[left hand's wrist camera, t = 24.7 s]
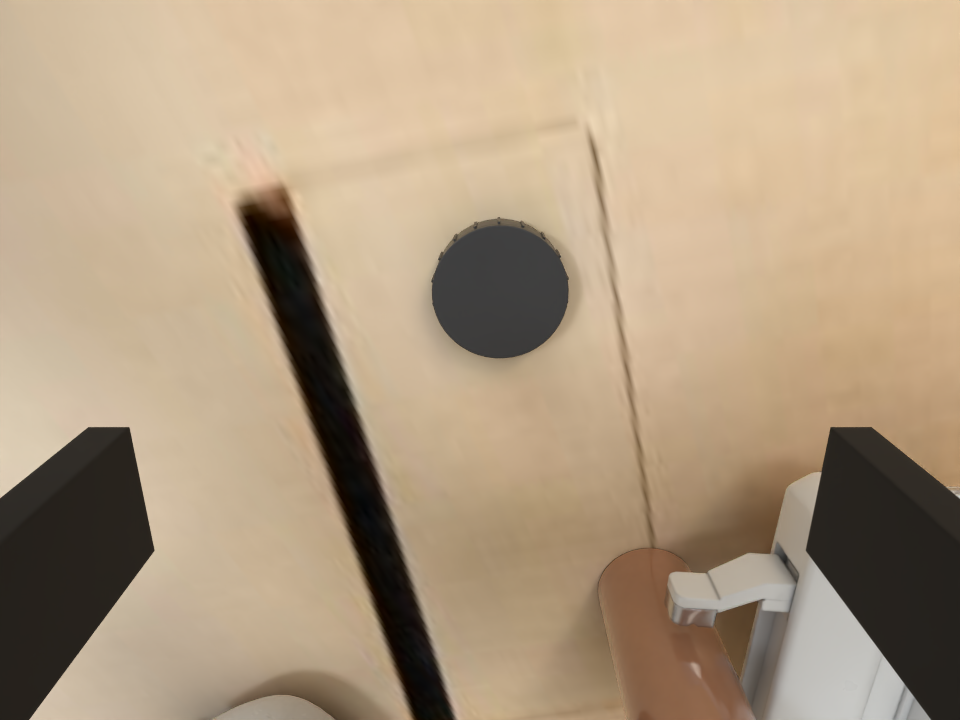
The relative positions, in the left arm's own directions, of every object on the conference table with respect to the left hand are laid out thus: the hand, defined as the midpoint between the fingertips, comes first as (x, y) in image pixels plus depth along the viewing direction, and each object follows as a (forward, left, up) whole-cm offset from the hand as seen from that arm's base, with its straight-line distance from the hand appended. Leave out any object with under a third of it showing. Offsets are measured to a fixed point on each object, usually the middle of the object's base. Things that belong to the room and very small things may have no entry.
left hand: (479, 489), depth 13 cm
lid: (+1, 0, -17) cm, 17 cm away
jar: (+15, -12, -19) cm, 27 cm away
